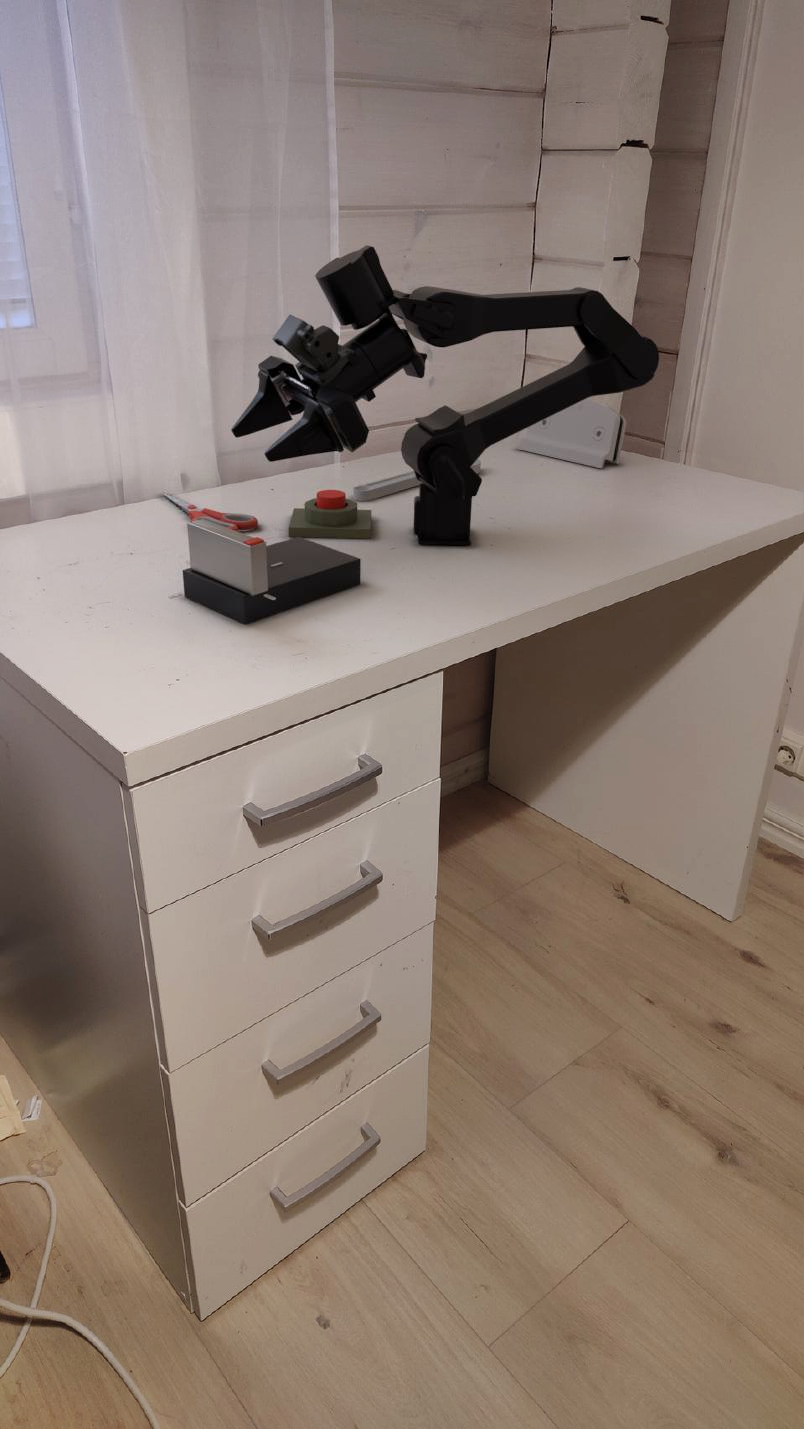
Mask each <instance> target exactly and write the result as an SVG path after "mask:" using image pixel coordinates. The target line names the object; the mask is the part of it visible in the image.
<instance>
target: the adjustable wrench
mask: <svg viewBox="0 0 804 1429" xmlns="http://www.w3.org/2000/svg"><path fill="white" fill-rule="evenodd" d="M481 462H482V461H481V460H480V459H479V458H478V459H477V460H476V461H475V463H474V464H473V465H472V466H471V468H472V469H473V470H474V471H475V472H476V473H477V474H479V473H481V464H482V463H481ZM420 484H423V483H422V482H421V481H418V480H417V479H416V476H415V473H414V470H412V471H408V472H404V473H400V474H397V475H393V476H389V477H385V478H382V479H378V480H374V481H371V482H367V483H363V484H360V485H359V484H358V485H356V486H353V488H352V497H353V498H352V499H353V501H358V502H368V501H372V500H375V499H379V498H381V497H384V496H388V495H392V494H396V493H398V492H402V491H405V490H407V489H411V488H414V487H417V486H420Z"/></svg>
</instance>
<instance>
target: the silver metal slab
mask: <svg viewBox="0 0 804 1429" xmlns="http://www.w3.org/2000/svg"><path fill="white" fill-rule="evenodd" d="M186 525H187V526H186V528H187V539H188V552H189V562H190V565H189V566H190V568H191V570H193V571H196V572H198V573H200V574H203V575H205V576H208V577H210V578H212V579H215V580H217V581H219V582H222V583H224V584H226V585H229V586H231V587H233V588H236V589H238V590H240V591H243V592H245V593H248V594H250V595H252V596H253V595H256V594H259V593H262V592H265V591H268V578H267V552H266V546H267V541H265V540H264V539H263V538H261V537H258V536H256V537H254V536H250V535H248V534H245V533H242V532H241V531H238V532H237V531H234V530H232V529H229V528H226V527H224V526H221V525H218V524H216V523H213V522H210V521H207V520H205V519H200V520H196V521H192V522H191V521H189V522H187V523H186Z"/></svg>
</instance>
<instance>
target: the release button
mask: <svg viewBox="0 0 804 1429" xmlns="http://www.w3.org/2000/svg"><path fill="white" fill-rule="evenodd" d="M346 496H347V495H346V492H345V491H342V490H338V489H323V490H320V491H317V492H316V498H317V507H318V508H322V509H341V508H345V507H346V499H347V498H346Z"/></svg>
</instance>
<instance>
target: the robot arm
mask: <svg viewBox="0 0 804 1429" xmlns="http://www.w3.org/2000/svg"><path fill="white" fill-rule="evenodd" d="M314 277H315V279H316V281H317V283H318V285H319V287H320V288H321V290H322V292H323V294H324V296H325V298H326V300H327V302H328V304H329V306H330V308H331V309H332V312H333V314H334V315H335V317H336V319H337V321H338V323H339V325H340V326H342V327H346V326H351V328H352V329H353V330H354V331H358V330H361V329H363V330H362V331H360V332H359V333H358V334H356V335H355V336H353V337H351V339H350V340H348V341H347V342H345V343H344V344H342V345H341V344H339V340H340V336H339V335H338V333H337V332H335V330H334V329H332V328H331V327H329V326H327V325H324V324H323V325H320V326H318V327H317V328H315V327H314V326H313V325H312V324H310V323H307V322H306V321H305V320H303V319H301V318H298V317H297V316H295V315H292V314H288V316H287V317H286V319H285V320H284V322H283V323H282V324H281V325H280V327H279V329H278V330H277V332H276V333H275V334H274V336H273V337H272V341H273V342H274V343H275V344H276V345H277V346H279V347H283V349H284V350H286V351H287V353H289V354H290V355H291V356H292V357H294V358H295V359H296V360H297V363H296V364H294V363H291V362H289V361H288V360H285V359H283V358H282V357H279V356H275V355H269V357H267V358H265V359H264V360H262V361H261V362H259V363H258V364H257V366H258V373H257V377H258V379H259V380H258V388H257V392H256V394H255V395H254V397H253V399H252V400H251V401H250V403H249V405H248V406H247V407H246V409H245V410H244V411H243V412H242V414H241V415H240V416H239V418H238V419H237V421H236V422H235V423H234V425H233V426H232V427H231V429H230V432H231V433H232V434H233V436H234V437H235V438H241V437H245V436H249V435H252V434H255V433H258V432H260V431H263V430H267V429H269V428H273V427H275V426H279V425H282V424H284V423H288V422H291V421H293V420H294V419H293V416H296V415H300V414H302V415H301V418H300V419H299V420H298V421H296V422H295V423H294V424H293V425H292V426H291V427H290V428H289V429H287V431H286V432H284V433H283V434H282V435H281V436H280V437H279V438H278V439H277V440H275V442H273V443H272V444H271V445H270V446H269V447H268V448H267V449H266V450H265V452H264V456H265V458H266V460H267V461H268V462H269V463H271V462H272V463H273V462H278V461H283V460H288V459H294V458H300V457H306V456H312V455H320V454H325V453H333V452H338V453H343V452H344V451H345V450H347V451H349V452H350V453H354V452H355V451H356V450H358V449H359V448H361V447H362V446H364V445H365V444H366V443H367V440H368V437H369V433H370V430H369V427H368V425H367V424H366V422H365V420H364V416H363V415H362V413H361V411H360V409H359V407H358V404H357V403H358V401H360V400H365V401H367V402H368V403H369V402H371V401H372V400H374V399H375V398H376V397H377V395H376V394H375V391H374V390H375V389H376V388H377V387H379V386H380V385H382V384H384V383H385V382H386V381H388V380H389V379H390V378H392V377H393V376H395V375H396V374H397V373H399V372H400V371H401V370H403V371H404V374H405V375H406V376H409V377H413V378H417V379H423V378H424V377H425V373H426V361H427V359H428V354H427V353H424V352H420V351H418V350H417V348H416V346H415V343H414V341H413V339H412V337H413V338H414V339H417V340H419V341H422V342H423V343H425V344H428V345H431V346H432V347H435V348H443V349H444V348H449V347H452V346H455V345H460V344H464V343H468V342H471V341H474V340H475V339H477V338H479V337H481V336H484V335H487V334H491V333H497V332H498V333H499V332H512V331H527V330H541V329H559V328H571V327H572V328H573V330H574V331H575V334H576V335H577V338H578V339H579V341H580V343H581V344H582V346H583V348H582V349H581V350H580V351H579V353H578V354H577V355H576V356H575V358H574V359H573V360H572V361H571V362H570V363H568V364H566V365H564V366H562V367H560V368H557V369H556V370H554V371H552V372H550V373H548V374H546V375H544V376H542V377H540V378H537V379H536V380H534V381H532V382H530V383H527V384H525V385H524V386H523V385H522V387H519V388H518V389H515V390H513V391H510V392H509V393H507V394H505V395H502V396H501V397H499V398H497V399H495V400H492V401H490V402H488V403H487V404H485V405H482V406H480V407H478V408H476V409H474V410H472V411H469V412H466V413H460V412H458V411H457V410H455V409H453V408H451V407H449V406H447V405H446V404H445V405H443V406H440V407H439V408H437V409H435V411H433V412H432V413H430V414H428V415H426V416H422V417H415V418H414V421H415V422H416V424H414V425H412V426H410V427H409V428H408V429H407V430H406V431H405V433H404V436H403V438H402V440H401V446H400V453H401V457H402V460H403V461H404V463H405V464H406V465H407V466H408V467H410V468H411V469H412V471H414V473H415V476H416V479H417V480H418V481H421V482H422V483H423V484H420V485H419V489H418V490H419V491H418V492H419V493H418V495H415V496H414V498H413V523H412V524H413V525H412V526H413V527H412V529H413V535H415V536H416V538H417V544H420V545H439V546H440V545H441V546H442V545H449V546H471V545H472V536H471V522H472V508H473V507H472V505H473V497H476V496H477V495H478V492H479V490H480V487H481V486H482V485H481V484H482V483H483V482H482V481H483V479H482V478H481V476H480V475H478V474H479V473H476V472H475V471H474V470H473V469H472V468H471V466H472V465H473V464H474V463H475V461H476V460H477V459H479V458H481V456H482V455H483V453H484V452H485V451H486V450H487V449H488V448H489V447H491V446H493V445H495V444H497V443H499V442H502V441H503V440H505V439H508V438H510V437H511V436H513V435H515V434H517V433H520V432H521V431H523V430H525V429H529V427H530V426H532V425H534V424H536V423H538V422H540V421H542V420H544V419H546V418H548V417H550V416H552V415H554V414H556V413H558V412H560V411H562V410H564V409H566V408H568V407H570V406H572V405H574V404H576V403H578V402H580V401H582V400H584V399H590V398H591V397H597V396H604V395H605V396H606V395H612V394H613V395H614V394H620V393H623V392H627V391H630V390H634V389H637V388H641V387H644V386H645V385H648V383H649V382H651V381H652V380H653V379H654V377H655V374H656V371H657V369H658V366H659V363H660V362H659V361H660V352H659V348H658V347H657V344H656V343H655V342H654V340H653V339H651V338H649V337H647V336H644V335H641V334H640V333H639V332H638V330H637V329H636V328H635V327H634V326H633V325H632V324H631V323H630V322H629V321H628V320H627V319H625V318H624V317H623V316H622V315H621V313H619V312H618V311H617V310H616V309H615V308H614V307H613V306H612V305H611V304H610V302H609V301H608V299H607V298H606V297H605V296H604V294H603V293H602V292H601V291H599V290H595V289H591V288H587V287H581V286H576V287H574V288H570V289H561V290H544V291H527V292H526V291H525V292H508V293H507V292H506V293H491V294H481V293H480V294H479V293H473V292H468V291H463V290H456V289H449V288H443V287H436V286H430V285H429V286H428V285H425V286H420V287H417V288H415V289H413V290H412V291H411V293H406V292H403V291H400V290H397V289H393V288H392V286H391V283H390V281H389V280H388V278H387V275H386V274H385V271H384V269H383V267H382V265H381V260H380V257H379V255H378V253H377V251H376V249H375V247H374V246H371V245H364V246H363V247H362V248H360V249H358V250H355V251H354V250H353V251H351V252H349V253H347V254H345V255H343V256H341V257H335V258H334V259H332V260H331V261H329V262H327V263H326V264H325V265H324V266H322V267H321V268H320V269H319V270H318V271H317V272H316V273H315V276H314ZM394 316H395V317H397V318H399V319H401V321H403V325H404V328H401V327H400V326H399V325H398V323H397V321H396V320H395V318H394ZM366 327H367V328H366ZM364 328H365V329H364ZM411 336H412V337H411ZM300 376H301V377H302V379H301V377H300Z"/></svg>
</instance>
